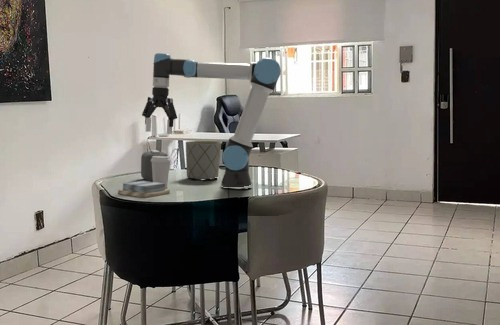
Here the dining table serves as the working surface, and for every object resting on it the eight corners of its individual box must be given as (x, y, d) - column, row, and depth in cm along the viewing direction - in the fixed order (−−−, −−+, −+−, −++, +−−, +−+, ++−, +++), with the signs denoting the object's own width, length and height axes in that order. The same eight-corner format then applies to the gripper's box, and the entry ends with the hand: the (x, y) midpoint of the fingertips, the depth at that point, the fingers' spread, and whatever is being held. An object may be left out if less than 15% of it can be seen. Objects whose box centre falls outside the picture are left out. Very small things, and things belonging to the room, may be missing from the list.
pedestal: (169, 193, 256) (169, 183, 255) (145, 197, 242) (145, 187, 241) (142, 189, 264) (142, 180, 263) (118, 193, 250) (118, 183, 250)
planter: (177, 178, 308) (178, 141, 306) (202, 175, 322) (203, 140, 320) (202, 182, 295) (203, 144, 293) (227, 179, 310) (228, 143, 308)
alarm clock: (167, 182, 290) (168, 152, 288) (145, 182, 286) (145, 152, 284) (161, 178, 305) (161, 149, 304) (140, 178, 301) (140, 149, 300)
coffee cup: (152, 189, 265) (153, 157, 263) (148, 186, 274) (148, 155, 272) (172, 189, 269) (173, 157, 267) (167, 186, 278) (167, 155, 276)
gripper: (135, 85, 268) (133, 130, 270) (175, 87, 254) (172, 135, 256) (147, 86, 274) (145, 130, 276) (186, 88, 260) (183, 134, 262)
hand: (158, 132), depth 266 cm, fingers open, 13 cm apart
